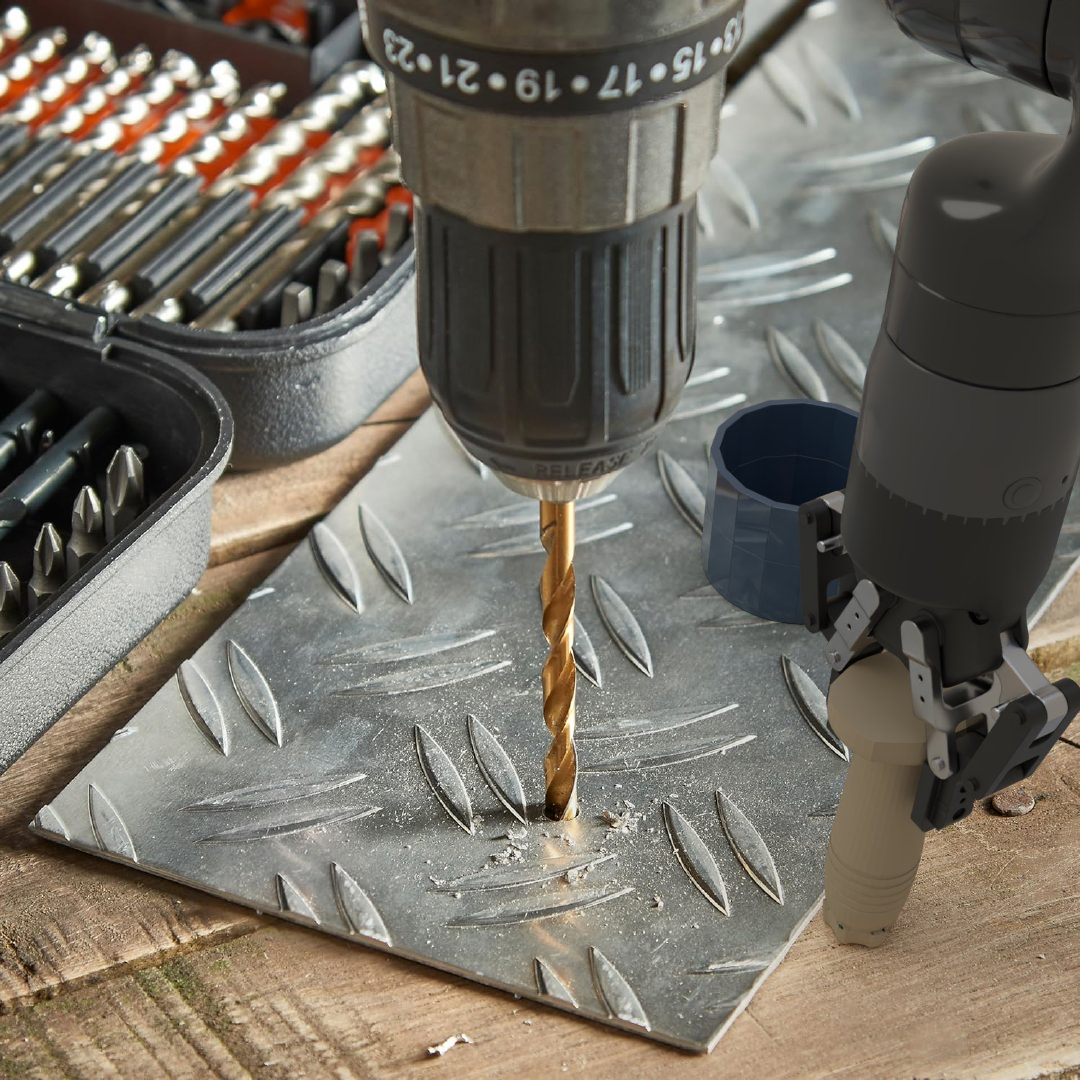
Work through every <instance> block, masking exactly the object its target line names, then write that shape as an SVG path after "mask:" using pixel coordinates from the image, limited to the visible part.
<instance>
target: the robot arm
mask: <svg viewBox="0 0 1080 1080" xmlns="http://www.w3.org/2000/svg"><path fill="white" fill-rule="evenodd" d="M883 1H884V4H885V7H886V10H887V11H888V14H889V16H890V18H891V19H892V21H893V23H894V25H895V26H896V27H897V28H898V30H899V31H900V32H901V33H902V34H903V35H904V36H905V37H906V38H907V39H908V40H910V41H911V42H912V43H914V44H915V45H917V46H919V47H921V48H922V49H924V50H926V51H928V52H930V53H932V54H934V55H937V56H939V57H942V58H945V59H947V60H950V61H952V62H955V63H957V64H961V65H964V66H967V67H969V68H973V69H975V70H977V71H982V72H984V73H987V74H990V75H993V76H996V77H999V78H1002V79H1004V80H1007V81H1010V82H1013V83H1016V84H1020V85H1022V86H1024V87H1028V88H1031V89H1033V90H1037V91H1038V92H1043V93H1046V94H1048V95H1052V96H1054V97H1057V98H1061V99H1062V100H1064V101H1067V102H1069V103H1071V111H1070V112H1071V113H1070V119H1069V124H1068V127H1067V131H1066V133H1065V134H1056V133H1045V132H1033V131H1024V130H986V131H979V132H972V133H967V134H962V135H959V136H956V137H952V138H951V139H948V140H946V141H944V142H941V143H940V144H938V145H937V146H935V147H933V148H932V149H931V150H930V151H929V152H928V153H926V154H925V156H923V158H922V159H921V160H920V161H919V163H918V164H917V166H916V167H915V169H914V170H913V172H912V174H911V177H910V179H909V181H908V184H907V187H906V191H905V193H904V197H903V201H902V206H901V211H900V216H899V222H898V227H897V232H896V238H895V246H894V253H893V256H892V257H893V258H892V264H891V271H890V276H889V280H888V286H887V292H886V299H885V305H884V311H883V314H882V318H881V322H880V326H879V330H878V333H877V336H876V339H875V341H874V345H873V347H872V350H871V353H870V357H869V360H868V363H867V365H866V366H867V367H866V370H865V375H864V380H863V386H862V391H861V396H860V397H861V398H860V402H859V408H858V412H859V415H858V421H857V426H856V432H855V438H854V444H853V449H852V455H851V461H850V467H849V473H848V479H847V485H846V488H845V489H842V490H840V491H835V492H832V493H829V494H826V495H824V496H821V497H818V498H816V499H815V500H812V501H809V502H806V503H804V504H801V505H800V506H799V509H798V522H799V555H800V588H801V616H802V620H803V623H804V624H803V625H804V626H805V628H806V630H807V631H808V632H809V633H811V634H818V633H820V632H821V633H822V635H823V637H824V638H825V640H826V642H827V643H826V644H825V647H824V655H825V658H826V660H827V663H828V664H829V666H830V667H831V670H830V676H829V682H828V687H827V693H826V699H825V705H826V707H827V704H828V696H829V690H830V685H831V684H832V683H833V682H834V681H835V680H836V679H837V678H838V677H839V676H840V675H841V674H842V673H843V672H844V671H845V670H846V669H848V668H849V667H850V666H851V665H853V664H854V663H856V662H857V661H860V660H862V659H864V658H867V657H870V656H873V655H876V654H879V653H883V652H886V651H889V652H890V653H892V654H894V655H895V656H897V657H898V658H899V659H900V660H901V662H902V663H903V664H904V666H905V667H906V668H907V670H908V671H909V673H910V682H911V694H912V706H913V714H914V716H915V717H916V718H917V719H919V720H920V721H922V722H924V723H925V733H926V745H927V758H928V760H927V761H925V762H924V763H923V767H922V771H921V775H920V779H919V784H918V788H917V792H916V796H915V800H914V804H913V808H912V812H911V816H910V818H911V820H912V821H913V822H914V823H915V824H916V825H917V826H918V827H919V829H920V830H921V831H922V832H926V833H928V832H930V831H932V830H937V832H939V831H941V830H943V829H946V828H948V827H949V826H952V825H954V824H956V823H958V822H960V821H963V820H965V819H967V818H968V817H969V816H970V815H971V814H972V813H973V809H974V806H975V802H976V801H981V800H984V799H985V798H987V797H989V796H992V795H994V794H996V793H998V792H1000V791H1002V790H1005V789H1007V788H1009V787H1011V786H1013V785H1015V784H1017V783H1019V782H1021V781H1023V780H1026V779H1027V778H1029V777H1032V776H1033V775H1034V773H1035V772H1036V770H1037V769H1038V768H1039V766H1040V765H1041V764H1042V763H1043V762H1044V759H1045V758H1046V756H1048V754H1050V752H1051V750H1052V749H1053V748H1054V746H1055V745H1056V744H1057V742H1058V741H1059V740H1060V739H1061V737H1062V736H1063V734H1064V733H1065V731H1066V730H1067V729H1068V728H1069V726H1070V725H1071V724H1072V722H1073V721H1074V720H1075V718H1076V717H1077V715H1078V714H1079V713H1080V686H1079V684H1078V683H1077V682H1076V681H1075V680H1073V679H1072V678H1070V677H1063V678H1061V679H1058V680H1056V681H1054V682H1051V681H1050V680H1049V678H1048V677H1046V675H1045V674H1044V672H1042V671H1041V668H1039V666H1038V665H1037V664H1036V663H1035V662H1034V660H1033V659H1032V658H1031V656H1030V655H1029V654H1028V652H1027V650H1028V647H1029V643H1030V634H1029V627H1028V620H1027V612H1028V611H1027V609H1028V605H1029V603H1030V602H1031V600H1032V598H1033V596H1034V595H1035V594H1036V592H1037V590H1038V589H1039V588H1040V586H1041V585H1042V583H1043V581H1044V579H1045V577H1046V576H1047V574H1048V572H1049V570H1050V568H1051V566H1052V563H1053V559H1054V556H1055V551H1056V548H1057V545H1058V542H1059V538H1060V534H1061V532H1062V527H1063V524H1064V521H1065V516H1066V513H1067V510H1068V506H1069V503H1070V500H1071V496H1072V493H1073V489H1074V486H1075V482H1076V480H1077V476H1078V473H1079V470H1080V0H883ZM837 578H839V594H836V595H834V596H831V597H829V598H827V587H828V584H829V583H830V582H831V581H832V580H835V579H837ZM961 683H962V684H961ZM959 684H960V685H959ZM956 685H957V686H956ZM953 686H955V687H953ZM950 687H953V688H951V689H948V690H946V691H944V692H943V688H950ZM964 720H966V729H967V734H965V735H962V736H960V737H958V738H956V727H957V726H958V724H959V723H960V722H962V721H964ZM825 725H826V726H825V727H826V729H827V730H828V731H829V733H831V735H832V736H833V737H834V738H835V739H836V740H837V741H841V740H840V739H839V738H838V737H837V736H836V734H835V732H834V731H833V729H832V727H831V725H830V723H829V720H828V718H827V720H826V724H825Z"/></svg>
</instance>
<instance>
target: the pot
mask: <svg viewBox="0 0 1080 1080" xmlns="http://www.w3.org/2000/svg"><path fill="white" fill-rule="evenodd" d="M858 415H859V411H857V410H855V409H852V408H850V407H848V406H845V405H842V404H840V403H835V402H829V401H822V400H818V399H812V398H811V399H810V398H805V397H804V398H803V397H799V398H783V399H781V398H779V399H767V400H764V401H761V402H758V403H756V404H753V405H750V406H747V407H742V408H740V409H738V410H737V411H735V412H734V413H733V414H732V415H731V416H729V417H728V418H727V419H726V420H724V421H723V422H722V423H720V424H719V425H718V426H717V429H716V431H715V434H714V437H713V439H712V442H711V445H710V450H709V461H708V462H709V463H708V471H707V482H706V493H705V502H704V503H705V504H704V514H703V523H702V524H703V525H702V534H701V535H702V536H701V546H700V553H701V561H702V569H703V571H704V573H705V576H706V578H707V579H708V581H709V583H710V584H711V586H712V587H713V588H714V590H716V592H717V593H719V595H721V597H723V599H725V600H726V601H728V602H729V603H731V604H732V605H733V606H735V607H736V608H738V609H741V610H742V611H745V612H747V613H749V614H751V615H754V616H756V617H760V618H762V619H765V620H770V621H774V622H779V623H787V624H797V625H798V624H799V625H804V623H803V620H802V616H801V588H800V555H799V522H798V509H799V506H800V505H801V504H804V503H806V502H809V501H812V500H815V499H816V498H818V497H821V496H824V495H826V494H829V493H832V492H835V491H840V490H842V489H845V488H846V485H847V479H848V473H849V467H850V461H851V455H852V449H853V444H854V438H855V432H856V426H857V421H858ZM836 594H839V578H837V579H835V580H832V581H831V582H830V583H829V584H828V587H827V598H829V597H831V596H834V595H836Z"/></svg>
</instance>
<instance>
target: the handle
mask: <svg viewBox="0 0 1080 1080" xmlns="http://www.w3.org/2000/svg"><path fill="white" fill-rule="evenodd" d="M961 684H962V683H961ZM959 685H960V684H959ZM956 686H957V685H956ZM953 687H955V686H953ZM953 687H950V688H943V692H944V691H946V690H948V689H951V688H953ZM826 714H827V719H828V720H829V723H830V725H831V727H832V729H833V731H834V732H835V734H836V736H837V737H838V738H839V739H840V740H839V741H840V743H842V744H843V745H844V746H845V747H846V748H847V749H849V750H850V751H851V752H852V754H853V755H852V757H851V762H850V765H849V769H848V772H847V776H846V780H845V782H844V786H843V789H842V792H841V796H840V799H839V803H838V806H837V807H836V808H837V809H836V811H835V815H834V819H833V822H832V825H831V830H830V833H829V839H828V844H827V849H826V856H825V863H824V897H825V898H823V899H822V919H823V922H824V923H825V924H827V925H828V926H829V927H831V929H832V931H834V934H835V940H837V941H838V942H840V944H841V943H842V944H843V945H847V944H857V945H858V944H859V945H863V946H865V947H867V948H877V947H878V946H881V945H882V944H883V943H884V941H885V939H886V937H887V935H888V933H889V929H891V928H892V927H893V926H894V925H895V923H896V922H897V920H898V918H899V917H900V914H901V912H902V910H903V908H904V906H905V904H906V902H907V900H908V898H909V895H910V893H911V891H912V887H913V885H914V883H915V880H916V877H917V873H918V870H919V866H920V863H921V858H922V855H923V850H924V845H925V838H926V833H927V832H922V831H921V830H920V829H919V827H918V826H917V825H916V824H915V823H914V822H913V821H912V820H911V818H910V816H911V812H912V808H913V804H914V800H915V796H916V792H917V788H918V784H919V779H920V775H921V771H922V767H923V763H924V762H925V761H927V760H928V758H927V745H926V733H925V723H924V722H922V721H920V720H919V719H917V718H916V717H915V716H914V714H913V706H912V694H911V682H910V673H909V671H908V670H907V668H906V667H905V666H904V664H903V663H902V662H901V660H900V659H899V658H898V657H897V656H895V655H894V654H892V653H890V652H889V651H886V652H883V653H879V654H876V655H873V656H870V657H867V658H864V659H862V660H860V661H857V662H856V663H854V664H853V665H851V666H850V667H849V668H848V669H846V670H845V671H844V672H843V673H842V674H841V675H840V676H839V677H838V678H837V679H836V680H835V681H834V682H833V683H832V684H831V685H830V690H829V696H828V704H827V706H826ZM965 734H967V729H966V720H964V721H962V722H960V723H959V724H958V726H957V727H956V738H958V737H960V736H962V735H965Z"/></svg>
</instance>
